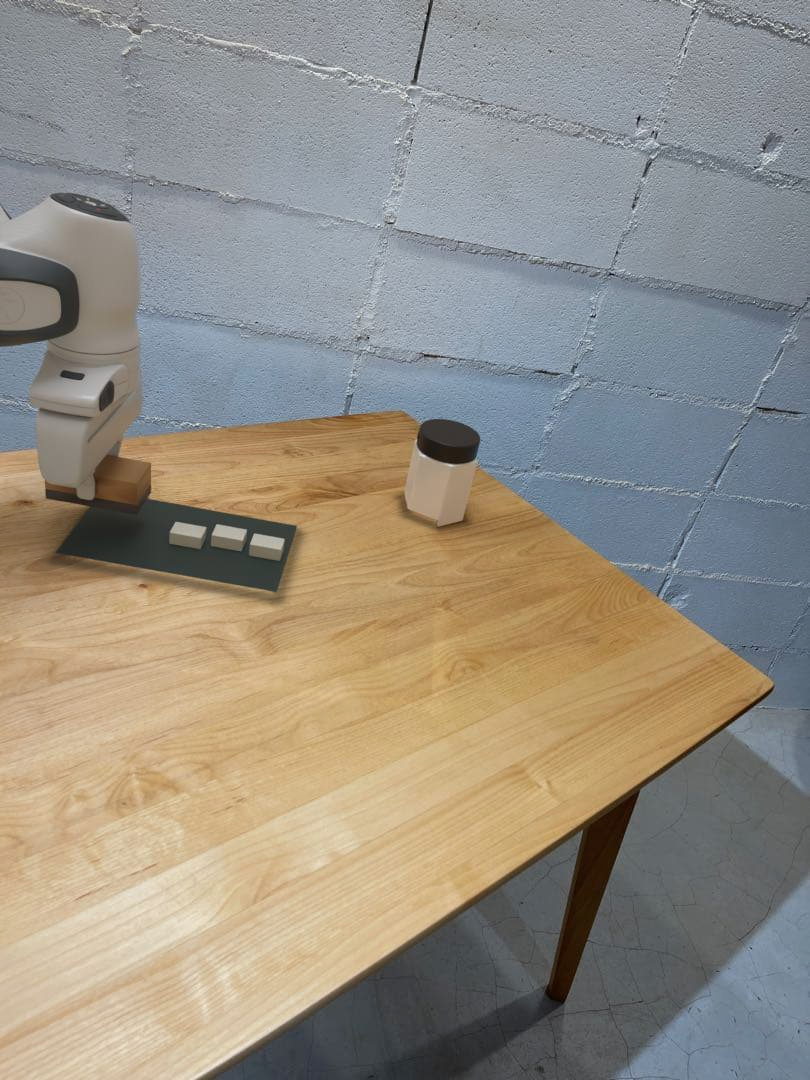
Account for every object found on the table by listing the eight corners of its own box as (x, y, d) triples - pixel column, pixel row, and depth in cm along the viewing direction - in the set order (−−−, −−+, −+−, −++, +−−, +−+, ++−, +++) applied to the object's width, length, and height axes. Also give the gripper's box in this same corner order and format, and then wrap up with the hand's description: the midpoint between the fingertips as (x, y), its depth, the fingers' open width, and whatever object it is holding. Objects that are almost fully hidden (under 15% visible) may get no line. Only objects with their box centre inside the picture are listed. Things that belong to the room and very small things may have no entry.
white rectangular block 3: (248, 555, 93) (249, 544, 92) (252, 544, 95) (254, 533, 94) (279, 561, 93) (281, 549, 93) (283, 550, 96) (284, 538, 95)
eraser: (45, 498, 89) (43, 466, 87) (64, 477, 93) (62, 446, 91) (136, 514, 90) (136, 483, 88) (151, 493, 94) (151, 462, 92)
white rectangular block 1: (168, 543, 92) (169, 532, 92) (175, 532, 94) (175, 521, 94) (200, 549, 93) (201, 537, 92) (205, 538, 95) (206, 526, 94)
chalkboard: (55, 561, 88) (54, 552, 87) (102, 498, 100) (102, 490, 99) (275, 600, 89) (276, 591, 89) (296, 533, 101) (297, 525, 100)
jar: (438, 490, 117) (456, 414, 111) (474, 519, 112) (495, 441, 106) (389, 501, 112) (404, 422, 106) (424, 531, 107) (443, 450, 101)
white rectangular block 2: (210, 546, 93) (211, 534, 93) (215, 535, 95) (216, 523, 95) (241, 551, 94) (242, 540, 93) (246, 540, 96) (247, 529, 95)
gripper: (101, 327, 92) (104, 437, 99) (19, 397, 75) (30, 524, 82) (157, 338, 92) (155, 447, 99) (88, 409, 75) (93, 535, 82)
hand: (98, 482), depth 91 cm, fingers closed on eraser, 5 cm apart
